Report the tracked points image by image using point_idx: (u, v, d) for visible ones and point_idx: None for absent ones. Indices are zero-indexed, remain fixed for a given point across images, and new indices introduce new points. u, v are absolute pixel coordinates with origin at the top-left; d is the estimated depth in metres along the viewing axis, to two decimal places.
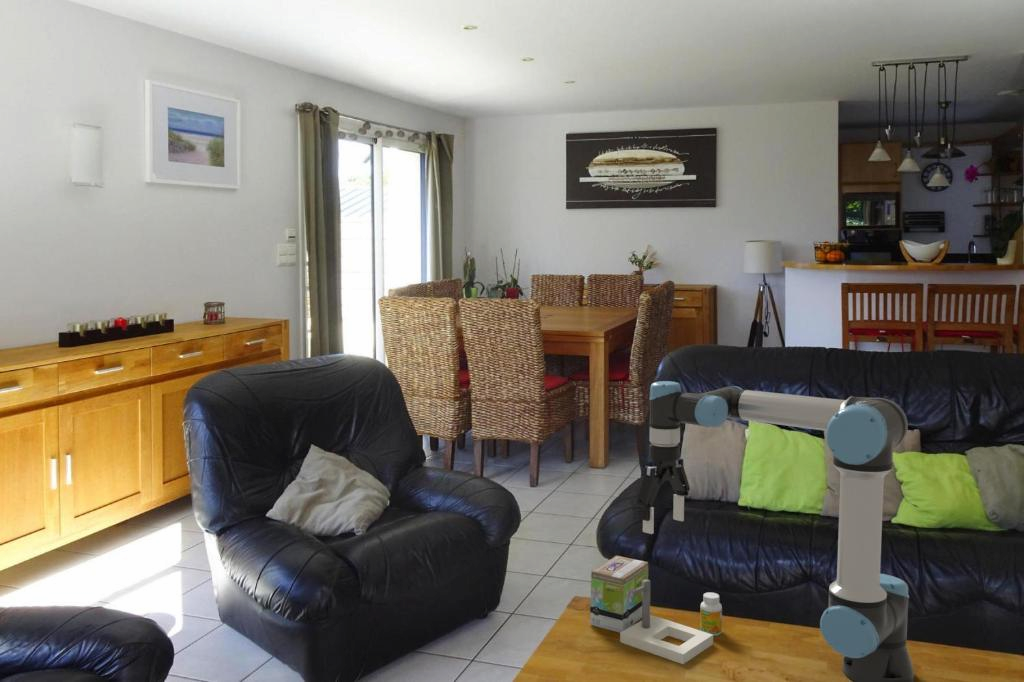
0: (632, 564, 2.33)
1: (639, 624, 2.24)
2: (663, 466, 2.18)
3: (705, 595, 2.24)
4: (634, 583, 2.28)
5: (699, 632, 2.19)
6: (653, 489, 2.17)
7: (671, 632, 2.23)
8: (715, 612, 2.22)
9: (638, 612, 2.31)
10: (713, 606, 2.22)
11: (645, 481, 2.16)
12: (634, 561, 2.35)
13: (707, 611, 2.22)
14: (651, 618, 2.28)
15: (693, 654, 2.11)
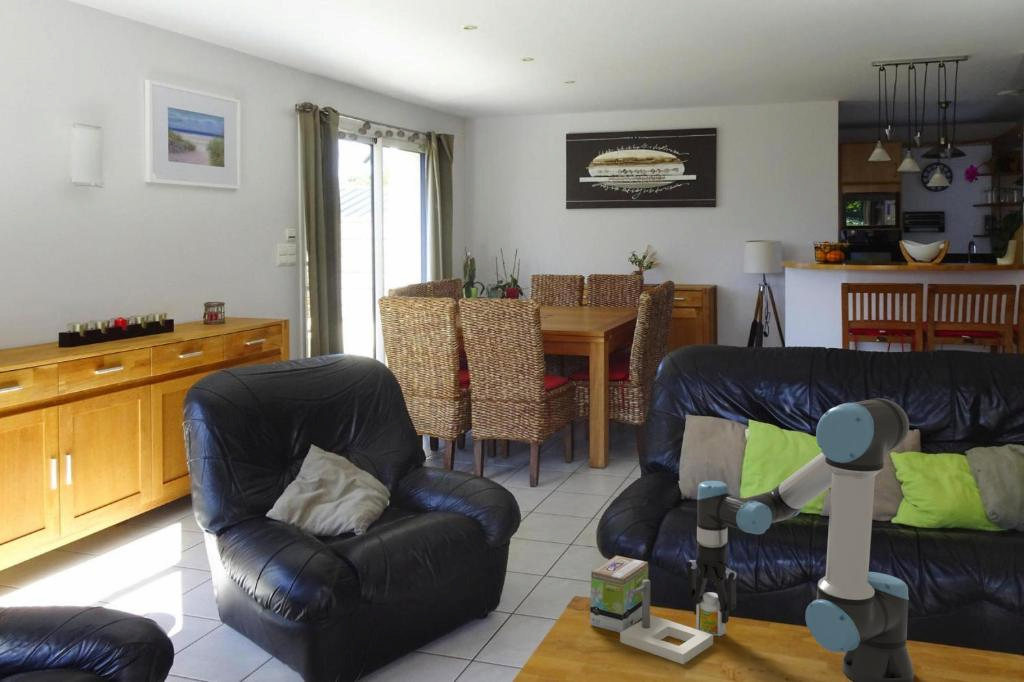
0: (632, 564, 2.33)
1: (639, 624, 2.24)
2: (701, 560, 2.24)
3: (705, 595, 2.24)
4: (634, 583, 2.28)
5: (699, 632, 2.19)
6: None
7: (671, 632, 2.23)
8: (715, 612, 2.22)
9: (638, 612, 2.31)
10: (713, 606, 2.22)
11: None
12: (634, 561, 2.35)
13: (707, 611, 2.22)
14: (651, 618, 2.28)
15: (693, 654, 2.11)
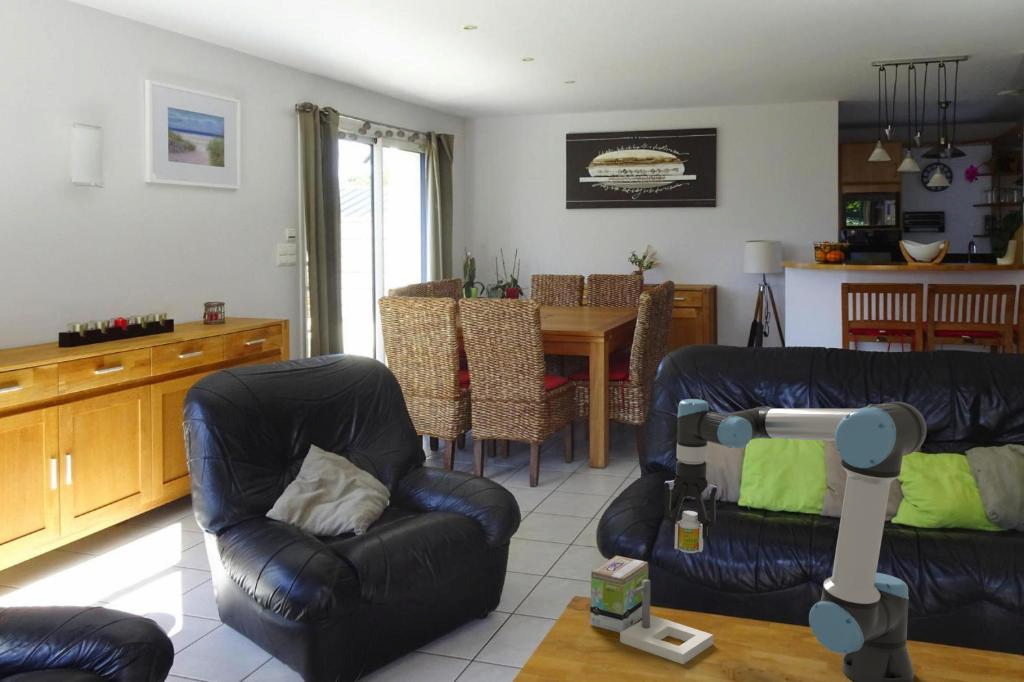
0: (632, 564, 2.33)
1: (639, 624, 2.24)
2: (681, 479, 2.24)
3: (685, 513, 2.25)
4: (634, 583, 2.28)
5: (699, 632, 2.19)
6: (676, 505, 2.26)
7: (671, 632, 2.23)
8: (697, 529, 2.23)
9: (638, 612, 2.31)
10: (694, 523, 2.24)
11: None
12: (634, 561, 2.35)
13: (689, 529, 2.23)
14: (651, 618, 2.28)
15: (693, 654, 2.11)
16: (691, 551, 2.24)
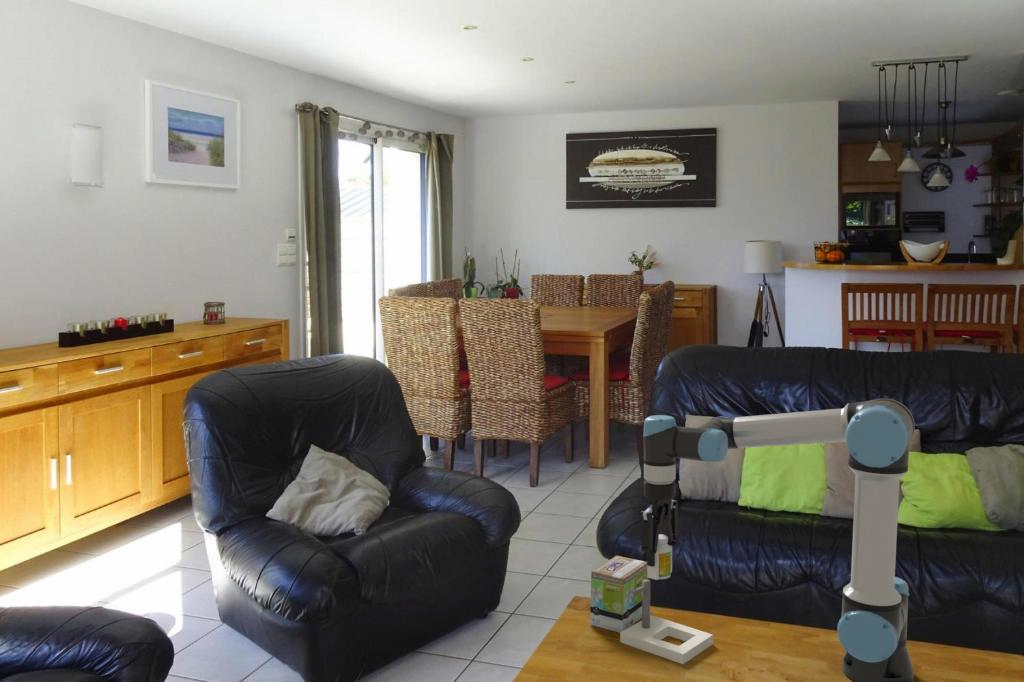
0: (632, 564, 2.33)
1: (639, 624, 2.24)
2: (658, 503, 2.09)
3: (660, 538, 2.10)
4: (634, 583, 2.28)
5: (699, 632, 2.19)
6: (654, 533, 2.09)
7: (671, 632, 2.23)
8: None
9: (638, 612, 2.31)
10: None
11: (644, 527, 2.07)
12: (634, 561, 2.35)
13: (669, 551, 2.11)
14: (651, 618, 2.28)
15: (693, 654, 2.11)
16: (670, 574, 2.12)
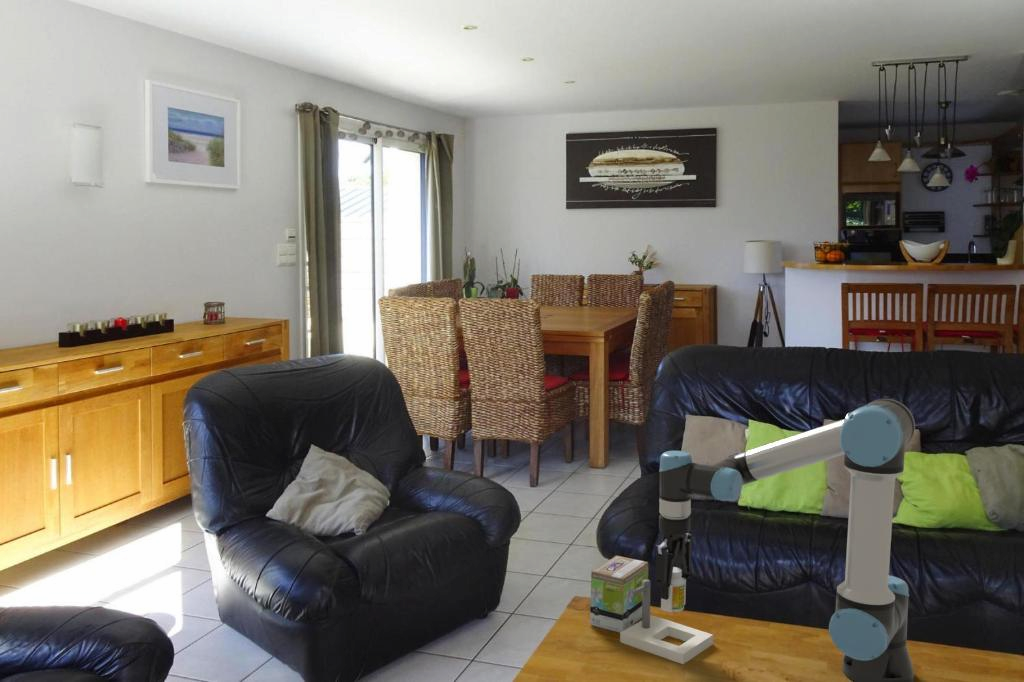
0: (632, 564, 2.33)
1: (639, 624, 2.24)
2: (673, 537, 2.12)
3: (674, 571, 2.14)
4: (634, 583, 2.28)
5: (699, 632, 2.19)
6: (668, 566, 2.13)
7: (671, 632, 2.23)
8: None
9: (638, 612, 2.31)
10: (681, 577, 2.16)
11: (658, 561, 2.11)
12: (634, 561, 2.35)
13: (683, 585, 2.15)
14: (651, 618, 2.28)
15: (693, 654, 2.11)
16: (683, 607, 2.16)
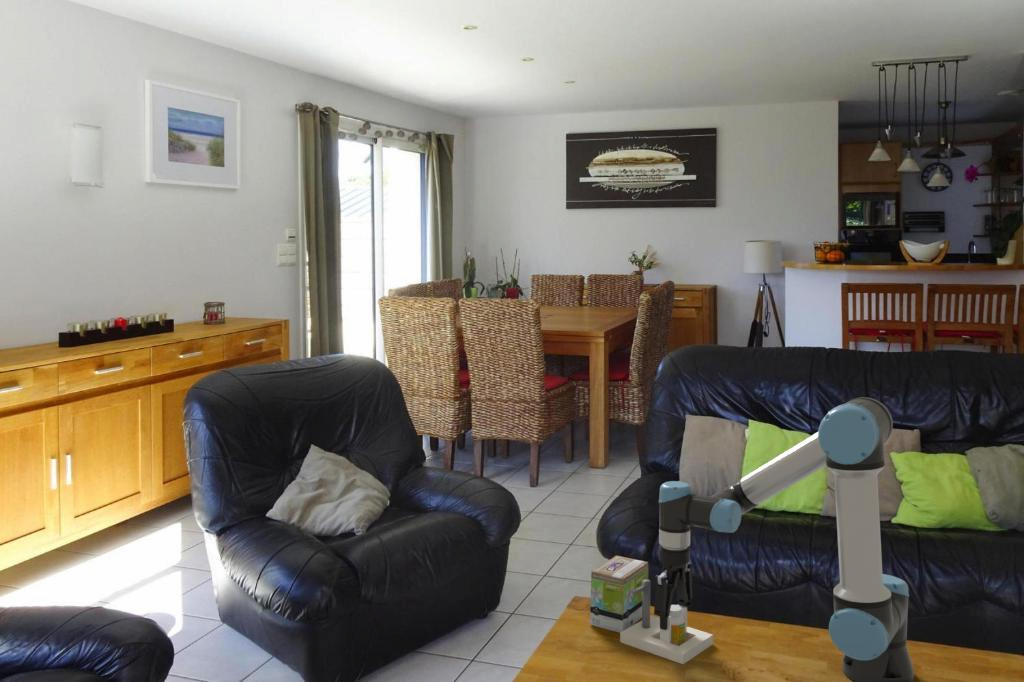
0: (632, 564, 2.33)
1: (639, 624, 2.24)
2: (673, 568, 2.13)
3: (674, 610, 2.15)
4: (634, 583, 2.28)
5: (699, 632, 2.19)
6: (667, 597, 2.13)
7: None
8: None
9: (638, 612, 2.31)
10: (682, 616, 2.17)
11: (658, 591, 2.12)
12: (634, 561, 2.35)
13: (683, 623, 2.16)
14: (651, 618, 2.28)
15: (693, 654, 2.11)
16: None
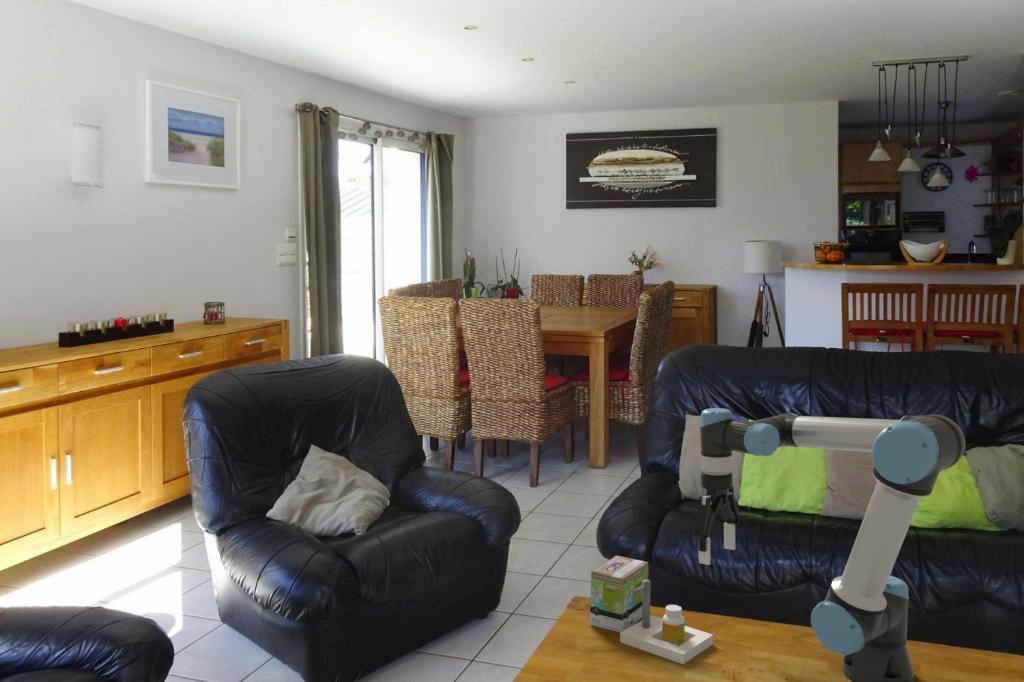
0: (632, 564, 2.33)
1: (639, 624, 2.24)
2: (717, 495, 2.15)
3: (675, 610, 2.15)
4: (634, 583, 2.28)
5: (699, 632, 2.19)
6: (708, 519, 2.13)
7: None
8: None
9: (638, 612, 2.31)
10: (682, 616, 2.17)
11: (700, 511, 2.12)
12: (634, 561, 2.35)
13: (683, 623, 2.15)
14: (651, 618, 2.28)
15: (693, 654, 2.11)
16: None
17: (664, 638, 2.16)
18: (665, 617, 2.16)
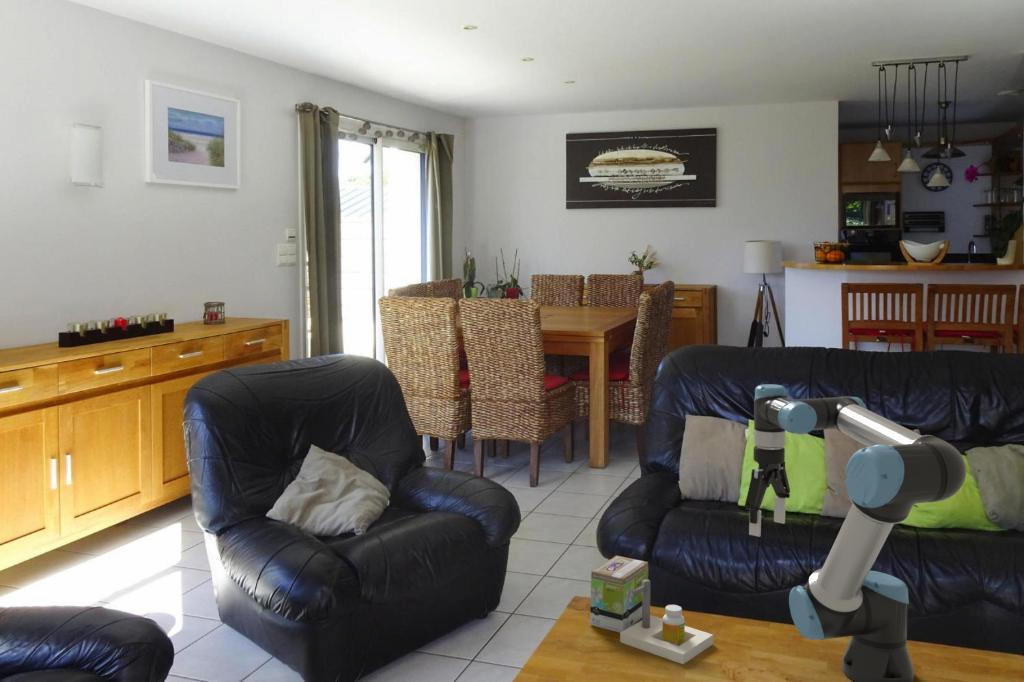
0: (632, 564, 2.33)
1: (639, 624, 2.24)
2: (769, 469, 2.19)
3: (675, 610, 2.15)
4: (634, 583, 2.28)
5: (699, 632, 2.19)
6: (760, 492, 2.18)
7: None
8: None
9: (638, 612, 2.31)
10: (682, 616, 2.17)
11: (752, 484, 2.16)
12: (634, 561, 2.35)
13: (683, 623, 2.15)
14: (651, 618, 2.28)
15: (693, 654, 2.11)
16: None
17: (664, 638, 2.16)
18: (665, 617, 2.16)
